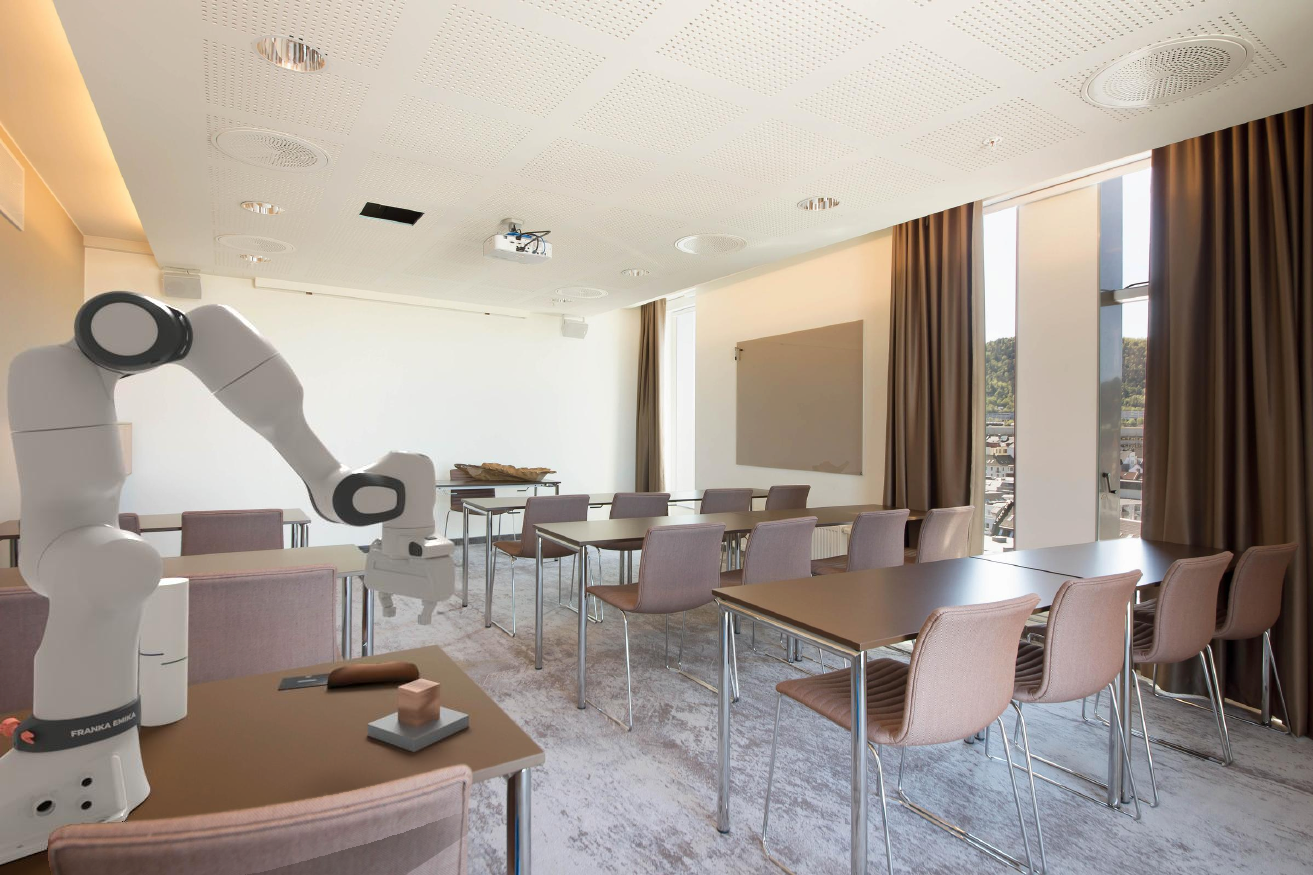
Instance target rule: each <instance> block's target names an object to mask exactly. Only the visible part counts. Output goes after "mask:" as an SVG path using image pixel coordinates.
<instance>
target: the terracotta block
mask: <svg viewBox="0 0 1313 875" xmlns="http://www.w3.org/2000/svg"><path fill="white" fill-rule="evenodd" d="M440 706H441V683H440V682H435V681H431V680H428V679H424V678H419V679H418V680H412V681H411V682H408V683H405V684H402V685H399V686H398V687H397V712H398V721H399V722H402V723H405V724H408V725H411V726H414V727H419V726H422V725H424V724H426V723H428V722H431V721H433V720H435V719H437V718H440Z"/></svg>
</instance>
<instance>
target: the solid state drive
mask: <svg viewBox="0 0 1313 875" xmlns="http://www.w3.org/2000/svg"><path fill="white" fill-rule="evenodd" d="M330 673H331V672H328V673H318V674H309V675H302V676H301V675H300V676H292V677H291V676H290V677H284V678H282V679H281V682H280V684H279V685H278V686H279V687H278V689H277V690H278V691H286V690H296V689H305V688H314V687H320V686H321V687H323V686H327V681H328V677H329V674H330Z"/></svg>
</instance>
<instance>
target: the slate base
mask: <svg viewBox="0 0 1313 875" xmlns="http://www.w3.org/2000/svg"><path fill="white" fill-rule="evenodd" d="M469 726H470V714H468V713H463V712H461V711H457V710H454V709H450V708H446V707H444V706H442V705H440V718H437V719H435V720H433V721H431V722H428V723H426V724H424V725H422V726H419V727H414V726H411V725H408V724H405V723H402V722H399V721H398V711H396V712H394V713H391V714H388V715H386V716H384V717H382V718H379V719H376V720H374V721H372V722H369V723H367V736H368V737H372V738H374V739H376V740H379V741H382V742H384V743H387V744H390V745H394V746H396V747H398V748H401V749H404V750H406V751H409V752H413V753H415V752H418V751H420V750H421V749H424V748H426V747H428V746H430V745H432V744H435V743H436V742H437V743H438V741H441V740H443V739H445V738H447V737H449V736H452V735H453V734H455V733H457V732H460V731H462V730H463V729H466V728H468V727H469Z"/></svg>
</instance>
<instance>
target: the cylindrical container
mask: <svg viewBox="0 0 1313 875" xmlns="http://www.w3.org/2000/svg"><path fill="white" fill-rule="evenodd" d="M189 580H190V579H189V578H186V577H168V578H167V577H165V578H161V581H160V583H159V585H158V587H157V588H156V589H155V591H154V592H153V593H152V594H151V595H150V598H149V602H148V606H147V609H146V613H145V617H144V621H143V625H142V629H141V633H140V638H139V668H138V676H139V680H138V681H139V682H138V693H139V694H140V695H141V706H142V720H141V727H143V726H144V727H157V726H163V725H167V724H171V723H175V722H178V721H180V720H182V719H184V718H185V717H187V714H188V666H189V664H188V661H189V660H188V658H189V657H188V656H189V654H188V652H189V651H188V650H189V602H190V601H189V597H190V596H189V595H190V594H189V593H190V590H189V589H190V582H189Z"/></svg>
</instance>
